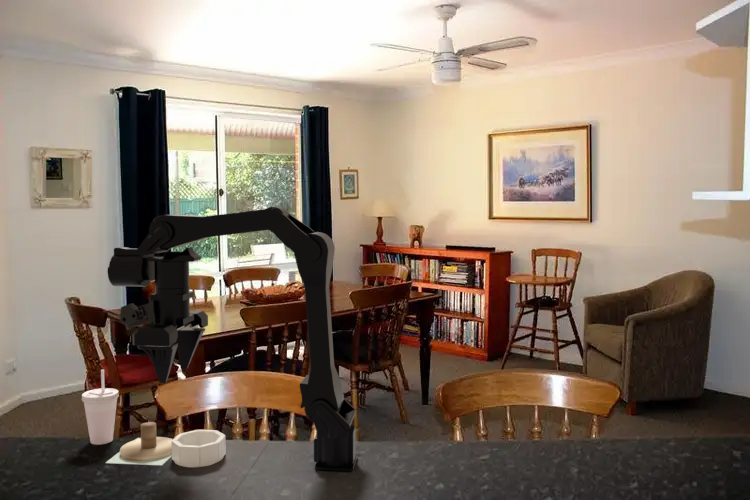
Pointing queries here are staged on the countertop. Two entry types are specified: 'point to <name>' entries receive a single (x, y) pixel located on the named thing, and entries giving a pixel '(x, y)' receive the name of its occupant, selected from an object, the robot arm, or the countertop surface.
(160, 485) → the countertop surface
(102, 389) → the smoothie
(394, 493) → the countertop surface
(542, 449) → the countertop surface
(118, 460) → the mat
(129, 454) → the lid
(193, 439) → the white octagonal pot
